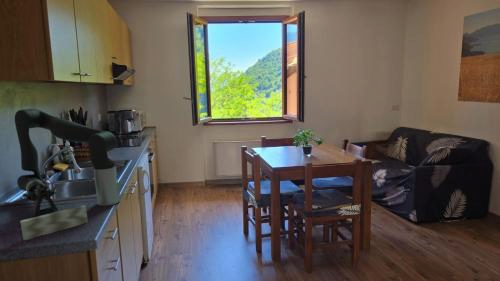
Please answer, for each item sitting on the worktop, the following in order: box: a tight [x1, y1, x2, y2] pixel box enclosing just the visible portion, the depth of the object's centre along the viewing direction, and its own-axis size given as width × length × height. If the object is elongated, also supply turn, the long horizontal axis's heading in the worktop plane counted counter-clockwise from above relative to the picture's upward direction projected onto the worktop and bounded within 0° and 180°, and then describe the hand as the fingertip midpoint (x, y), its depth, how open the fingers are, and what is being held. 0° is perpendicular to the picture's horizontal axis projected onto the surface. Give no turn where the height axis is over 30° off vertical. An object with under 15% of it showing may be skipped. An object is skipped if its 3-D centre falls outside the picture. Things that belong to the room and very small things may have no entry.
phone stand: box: [31, 183, 59, 217], centre depth 148 cm, size 9×6×12 cm, turn 130°
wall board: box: [19, 204, 89, 241], centre depth 137 cm, size 22×14×7 cm, turn 131°
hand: (44, 198), depth 146 cm, fingers closed on phone stand, 1 cm apart
